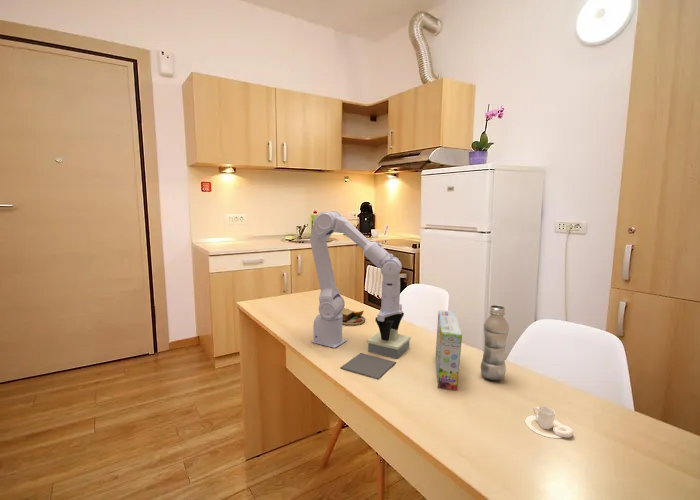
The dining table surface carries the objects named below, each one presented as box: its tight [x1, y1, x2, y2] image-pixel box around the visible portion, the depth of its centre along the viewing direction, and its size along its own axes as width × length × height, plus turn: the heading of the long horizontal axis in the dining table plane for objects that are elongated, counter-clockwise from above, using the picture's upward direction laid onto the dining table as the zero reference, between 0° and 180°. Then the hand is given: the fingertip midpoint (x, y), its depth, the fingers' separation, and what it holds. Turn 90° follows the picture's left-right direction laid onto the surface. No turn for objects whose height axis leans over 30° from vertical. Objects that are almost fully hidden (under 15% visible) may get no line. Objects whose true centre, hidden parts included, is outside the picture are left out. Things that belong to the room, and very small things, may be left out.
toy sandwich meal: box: [341, 307, 366, 326], centre depth 144 cm, size 12×14×5 cm
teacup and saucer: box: [524, 406, 574, 439], centre depth 76 cm, size 9×8×4 cm
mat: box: [340, 352, 397, 380], centre depth 104 cm, size 12×12×1 cm
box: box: [367, 340, 410, 360], centre depth 116 cm, size 10×10×3 cm
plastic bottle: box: [480, 304, 510, 382], centre depth 97 cm, size 6×7×20 cm
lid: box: [366, 329, 412, 350], centre depth 116 cm, size 11×11×4 cm
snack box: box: [435, 309, 463, 391], centre depth 101 cm, size 21×6×15 cm, turn 168°
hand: (389, 336), depth 116 cm, fingers open, 6 cm apart
